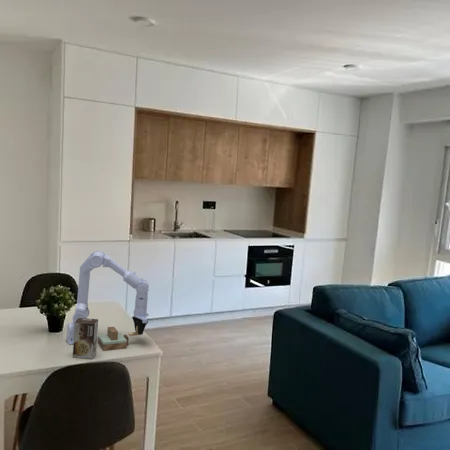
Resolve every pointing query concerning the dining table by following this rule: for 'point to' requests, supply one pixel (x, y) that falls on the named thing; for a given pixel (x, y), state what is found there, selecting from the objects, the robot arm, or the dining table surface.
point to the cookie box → (85, 338)
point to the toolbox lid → (112, 337)
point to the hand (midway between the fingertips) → (138, 332)
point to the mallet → (134, 332)
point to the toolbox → (113, 345)
